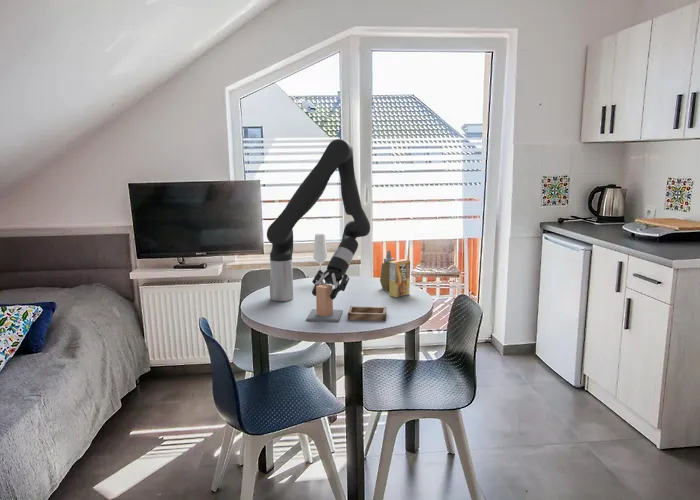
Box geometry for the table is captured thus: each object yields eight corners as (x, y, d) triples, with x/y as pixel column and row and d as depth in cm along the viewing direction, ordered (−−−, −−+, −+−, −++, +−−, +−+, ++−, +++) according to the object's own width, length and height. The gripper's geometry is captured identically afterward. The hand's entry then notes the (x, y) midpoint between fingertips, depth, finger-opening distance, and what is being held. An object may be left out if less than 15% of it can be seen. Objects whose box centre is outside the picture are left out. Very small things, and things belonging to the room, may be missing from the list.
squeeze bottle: (392, 292, 211) (392, 252, 208) (376, 289, 215) (376, 251, 212) (400, 288, 217) (400, 249, 214) (385, 285, 222) (385, 248, 219)
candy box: (403, 292, 210) (403, 258, 208) (410, 294, 207) (410, 260, 204) (388, 295, 205) (389, 261, 202) (395, 297, 202) (396, 262, 199)
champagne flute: (330, 283, 228) (329, 234, 223) (320, 285, 223) (319, 235, 219) (321, 280, 232) (320, 232, 228) (311, 283, 227) (310, 234, 223)
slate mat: (306, 320, 172) (306, 318, 172) (312, 311, 184) (312, 309, 184) (338, 321, 171) (338, 319, 171) (342, 311, 183) (342, 309, 183)
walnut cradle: (347, 319, 173) (347, 313, 173) (350, 312, 182) (350, 306, 181) (385, 320, 172) (385, 314, 171) (386, 313, 180) (386, 307, 180)
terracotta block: (316, 314, 177) (316, 286, 175) (323, 311, 180) (323, 283, 179) (325, 316, 174) (325, 288, 172) (332, 313, 178) (332, 285, 176)
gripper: (321, 253, 184) (303, 288, 177) (351, 257, 175) (332, 294, 168) (330, 264, 189) (312, 298, 182) (359, 269, 181) (341, 305, 173)
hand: (322, 296), depth 175 cm, fingers open, 8 cm apart
